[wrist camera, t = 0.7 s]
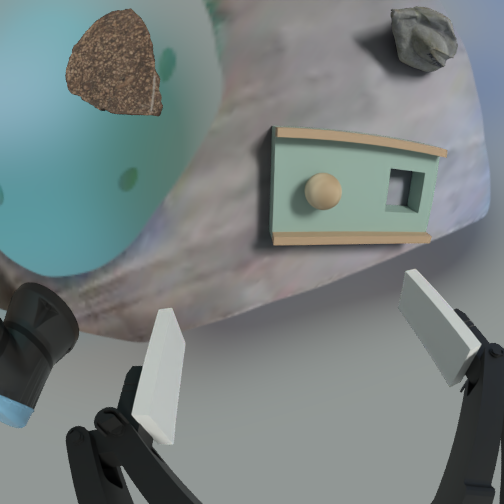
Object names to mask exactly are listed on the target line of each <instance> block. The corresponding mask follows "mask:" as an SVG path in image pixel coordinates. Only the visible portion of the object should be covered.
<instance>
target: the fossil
mask: <svg viewBox="0 0 504 504" xmlns="http://www.w3.org/2000/svg"><path fill="white" fill-rule="evenodd" d="M391 11H392V12H391V18H392V33H393V35H394V37H395V43H396V47H397V53H398V57H399V60H400V61H401V62H403V63H405V64H407V65H409V66H411V67H414V68H416V69H419V70H422V71H425V72H432V71H436V70H438V69H439V68H441V67H444V66H445V63H446V60H447V59H449V58H453V57H454V55H455V54H456V51H457V47H458V44H457V41H456V37H455V35H454V31H453V26H452V23H451V21H450V19H449V18H448V17H446V16H444V15H443V14H441V13H439V12H437V11H435V10H432V9H430V8H425V7H418V6H416V7H414V8H405V9H392V10H391Z"/></svg>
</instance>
